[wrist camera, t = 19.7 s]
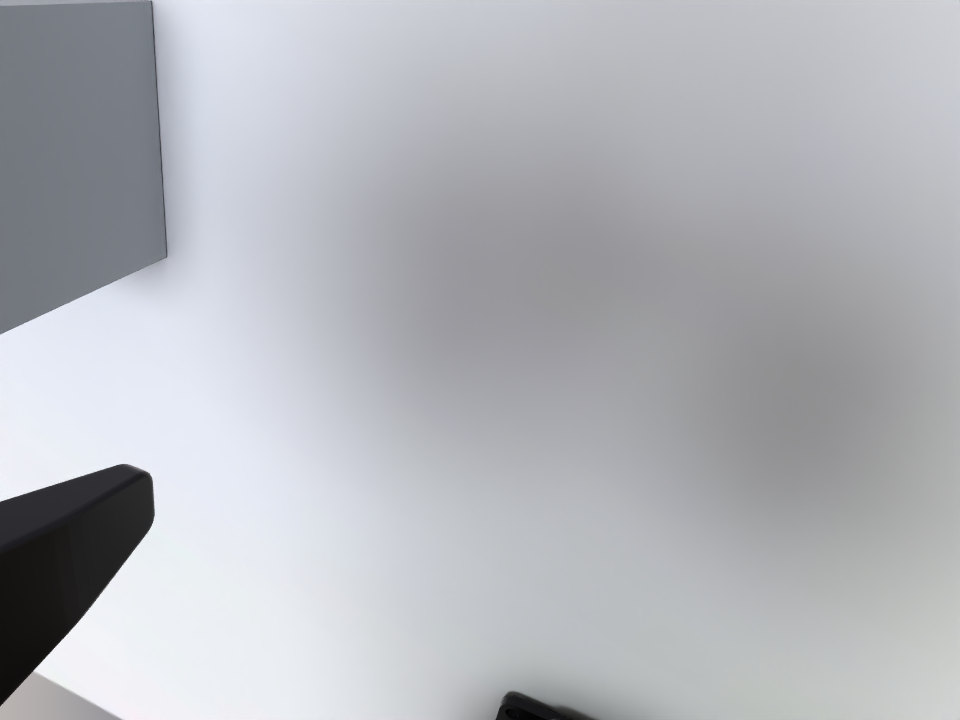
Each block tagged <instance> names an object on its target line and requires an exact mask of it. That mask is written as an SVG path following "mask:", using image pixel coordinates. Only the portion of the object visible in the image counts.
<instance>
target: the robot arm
mask: <svg viewBox="0 0 960 720" xmlns="http://www.w3.org/2000/svg"><path fill="white" fill-rule="evenodd" d="M154 516H155V509H154V493H153V480H152V477H151V475H150V474H149V473H148V472H146V471H144V470H141V469H139V468H136V467H134V466H132V465H128V464H120V465H116V466H113V467H110V468H106V469H103V470H100V471H97V472H94V473H90V474H87V475H84V476H81V477H78V478H74V479H71V480H68V481H65V482H62V483H58V484H55V485H52V486H49V487H46V488H42V489H39V490H36V491H33V492H30V493H26V494H23V495H20V496H17V497H14V498H10V499H7V500H4V501H1V502H0V706H1V705H2V704H3V703H4V702H5V701H6V700H7V699H8V698H9V696H10V695H11V694H12V693H13V692H14V691H15V690H16V689H17V688H18V687H19V686H20V685H21V683H22V682H23V681H24V680H25V679H26V678H27V677H28V676H29V675H30V674H31V673H32V672H33V671H34V669H35V668H36V667H37V666H38V665H39V664H40V663H41V662H42V661H43V660H44V659H45V658H46V657H47V655H48V654H49V653H50V652H51V651H52V650H53V649H54V648H55V647H56V646H57V645H58V644H59V643H60V641H61V640H62V639H63V638H64V637H65V636H66V635H67V634H68V633H69V632H70V631H71V629H72V628H73V627H74V626H75V625H76V624H77V623H78V622H79V621H80V619H81V618H82V617H83V616H84V615H85V613H86V612H87V611H88V610H89V608H90V607H91V606H92V605H93V603H94V602H95V601H96V599H97V598H98V597H99V596H100V594H101V593H102V592H103V590H104V589H105V588H106V586H107V585H108V584H109V582H110V581H111V580H112V579H113V577H114V576H115V575H116V573H117V572H118V571H119V569H120V568H121V567H122V565H123V564H124V563H125V561H126V560H127V559H128V558H129V556H130V555H131V554H132V552H133V551H134V550H135V548H136V547H137V546H138V544H139V543H140V542H141V540H142V539H143V538H144V537H145V535H146V534H147V533H148V531H149V530H150V528H151V526H152V523H153V521H154ZM496 720H571V719H568V718H566V717H564V716H561V715H559V714H556V713H554V712H552V711H549V710H547V709H545V708H542V707H540V706H538V705H535V704H533V703H531V702H528V701H526V700H524V699H521V698H519V697H516V696H506V697H504V698H503V700H502V703H501V706H500V708H499V712H498V715H497V718H496Z"/></svg>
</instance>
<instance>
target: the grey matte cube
mask: <svg viewBox="0 0 960 720" xmlns="http://www.w3.org/2000/svg"><path fill="white" fill-rule="evenodd" d="M166 257H167V254H166V238H165V221H164V204H163V188H162V171H161V155H160V138H159V122H158V105H157V88H156V72H155V55H154V39H153V22H152V6H151V1H148V0H0V334H2V333H4V332H6V331H9V330H11V329H13V328H15V327H17V326H19V325H21V324H24V323H26V322H28V321H30V320H32V319H34V318H37V317H39V316H41V315H43V314H45V313H47V312H49V311H52V310H54V309H56V308H58V307H60V306H62V305H65V304H67V303H69V302H71V301H73V300H75V299H77V298H80V297H82V296H84V295H86V294H88V293H90V292H93V291H95V290H97V289H99V288H101V287H103V286H105V285H108V284H110V283H112V282H114V281H116V280H118V279H121V278H123V277H125V276H127V275H129V274H131V273H133V272H136V271H138V270H140V269H142V268H144V267H146V266H149V265H151V264H153V263H155V262H157V261H159V260H161V259H164V258H166Z"/></svg>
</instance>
